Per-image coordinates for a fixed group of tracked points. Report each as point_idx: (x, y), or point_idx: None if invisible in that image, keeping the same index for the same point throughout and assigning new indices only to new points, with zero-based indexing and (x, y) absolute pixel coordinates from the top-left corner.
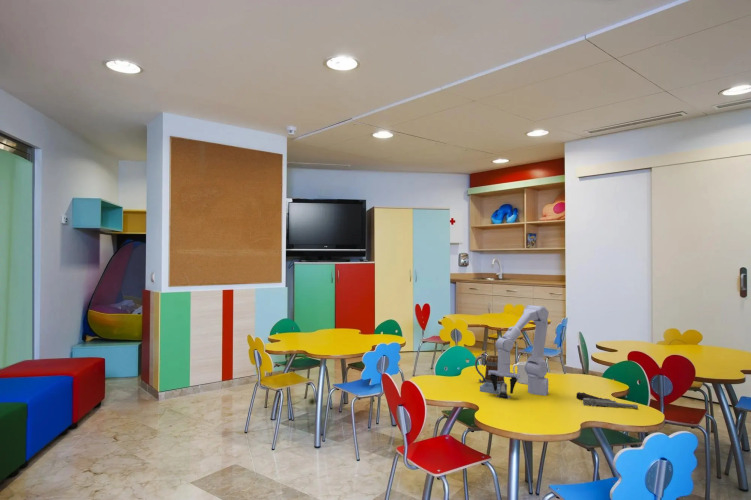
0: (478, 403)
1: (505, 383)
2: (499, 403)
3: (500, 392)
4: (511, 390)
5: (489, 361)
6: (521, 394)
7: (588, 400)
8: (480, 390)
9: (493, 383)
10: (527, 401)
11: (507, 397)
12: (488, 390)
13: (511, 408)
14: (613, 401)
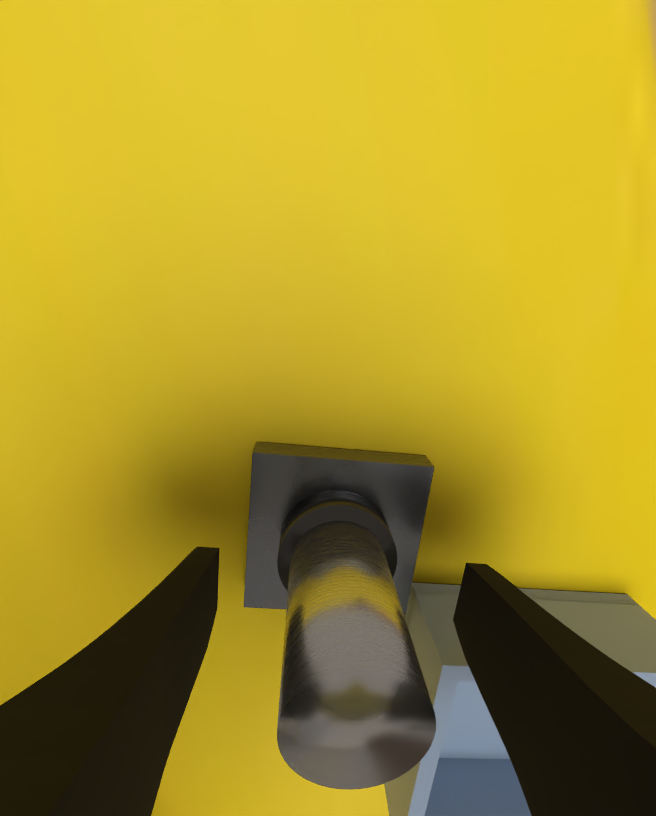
0: (636, 90)
1: (324, 784)
2: (340, 271)
3: (384, 556)
4: (171, 576)
5: None
6: (188, 767)
7: None
8: (649, 620)
9: (599, 663)
10: (39, 559)
11: (277, 523)
12: None
13: (112, 73)
14: None
